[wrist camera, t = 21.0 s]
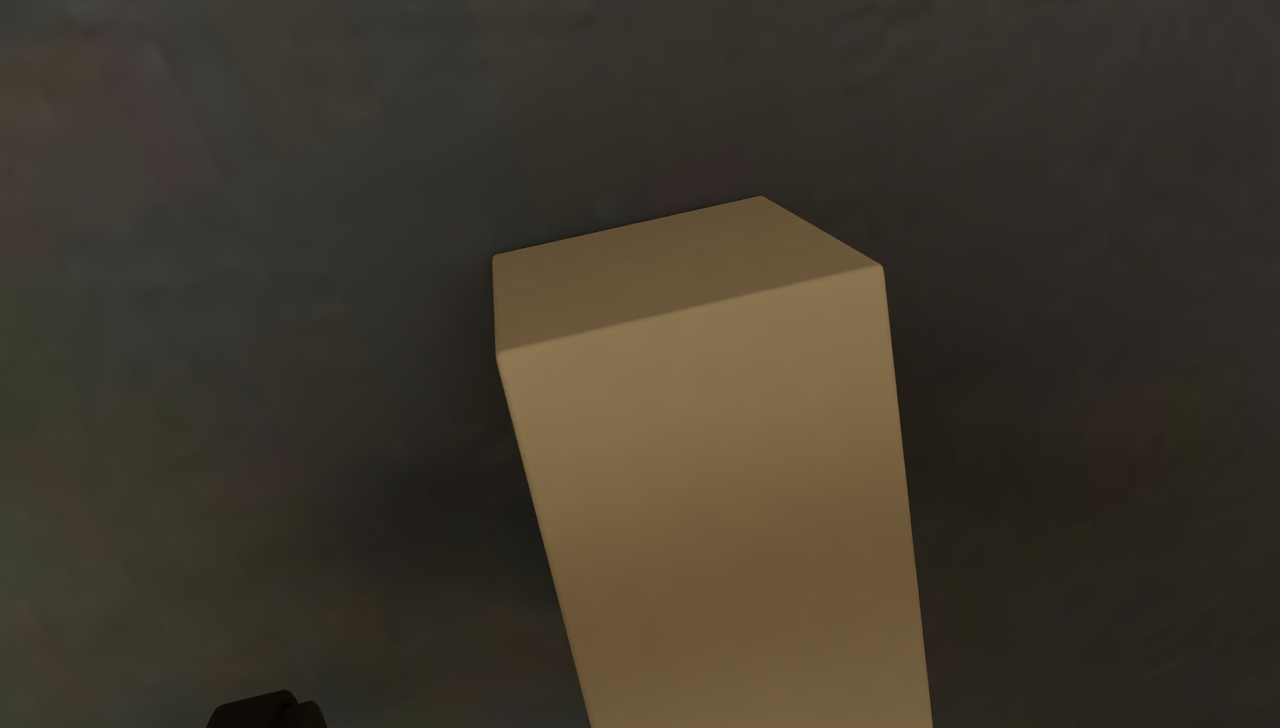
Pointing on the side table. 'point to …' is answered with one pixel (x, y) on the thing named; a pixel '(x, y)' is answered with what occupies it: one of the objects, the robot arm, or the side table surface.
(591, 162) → the side table surface
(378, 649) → the side table surface
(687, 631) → the tan rectangular block
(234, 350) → the side table surface
